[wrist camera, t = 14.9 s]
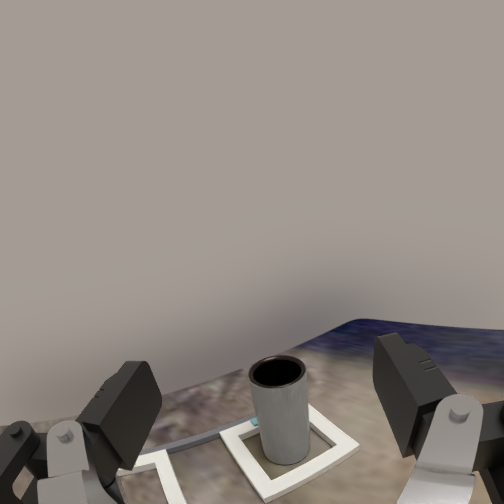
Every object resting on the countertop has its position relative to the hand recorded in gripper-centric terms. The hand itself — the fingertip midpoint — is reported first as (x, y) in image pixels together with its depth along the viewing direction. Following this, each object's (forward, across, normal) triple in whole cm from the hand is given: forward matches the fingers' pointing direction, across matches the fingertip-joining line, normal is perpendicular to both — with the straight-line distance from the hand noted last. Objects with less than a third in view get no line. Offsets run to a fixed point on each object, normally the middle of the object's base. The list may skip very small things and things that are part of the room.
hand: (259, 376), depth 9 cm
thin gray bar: (+11, +10, +18) cm, 23 cm away
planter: (+10, 0, +18) cm, 21 cm away
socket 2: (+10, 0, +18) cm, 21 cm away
